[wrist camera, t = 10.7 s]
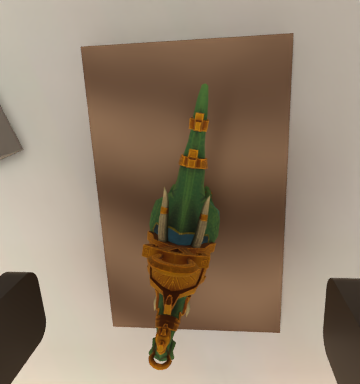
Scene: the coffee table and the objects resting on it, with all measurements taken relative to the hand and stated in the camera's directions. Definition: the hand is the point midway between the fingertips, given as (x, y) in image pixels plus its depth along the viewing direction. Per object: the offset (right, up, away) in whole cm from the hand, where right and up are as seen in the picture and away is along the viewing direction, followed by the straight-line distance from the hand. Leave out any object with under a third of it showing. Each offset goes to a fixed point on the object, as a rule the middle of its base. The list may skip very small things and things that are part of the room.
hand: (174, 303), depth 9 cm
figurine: (+1, +3, +9) cm, 9 cm away
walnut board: (+1, +3, +10) cm, 10 cm away
